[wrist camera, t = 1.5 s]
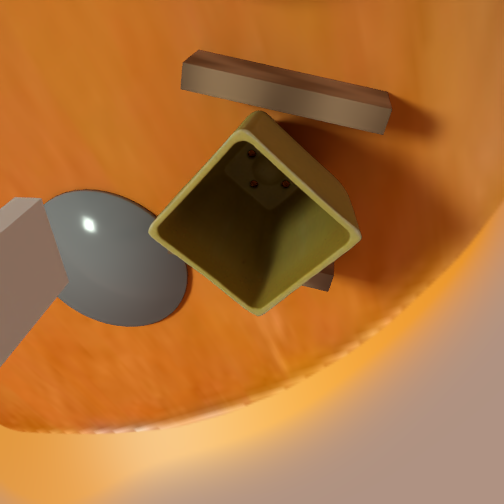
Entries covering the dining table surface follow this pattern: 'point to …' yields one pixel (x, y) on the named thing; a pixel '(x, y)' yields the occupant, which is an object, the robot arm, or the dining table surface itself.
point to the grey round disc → (114, 259)
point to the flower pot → (259, 217)
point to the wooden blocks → (288, 101)
